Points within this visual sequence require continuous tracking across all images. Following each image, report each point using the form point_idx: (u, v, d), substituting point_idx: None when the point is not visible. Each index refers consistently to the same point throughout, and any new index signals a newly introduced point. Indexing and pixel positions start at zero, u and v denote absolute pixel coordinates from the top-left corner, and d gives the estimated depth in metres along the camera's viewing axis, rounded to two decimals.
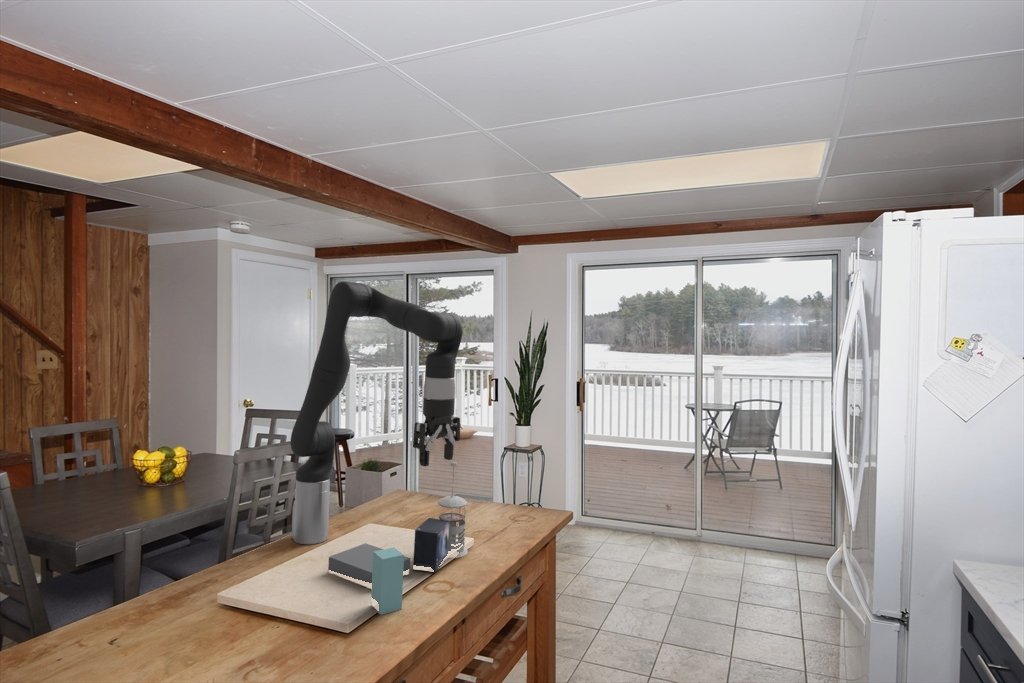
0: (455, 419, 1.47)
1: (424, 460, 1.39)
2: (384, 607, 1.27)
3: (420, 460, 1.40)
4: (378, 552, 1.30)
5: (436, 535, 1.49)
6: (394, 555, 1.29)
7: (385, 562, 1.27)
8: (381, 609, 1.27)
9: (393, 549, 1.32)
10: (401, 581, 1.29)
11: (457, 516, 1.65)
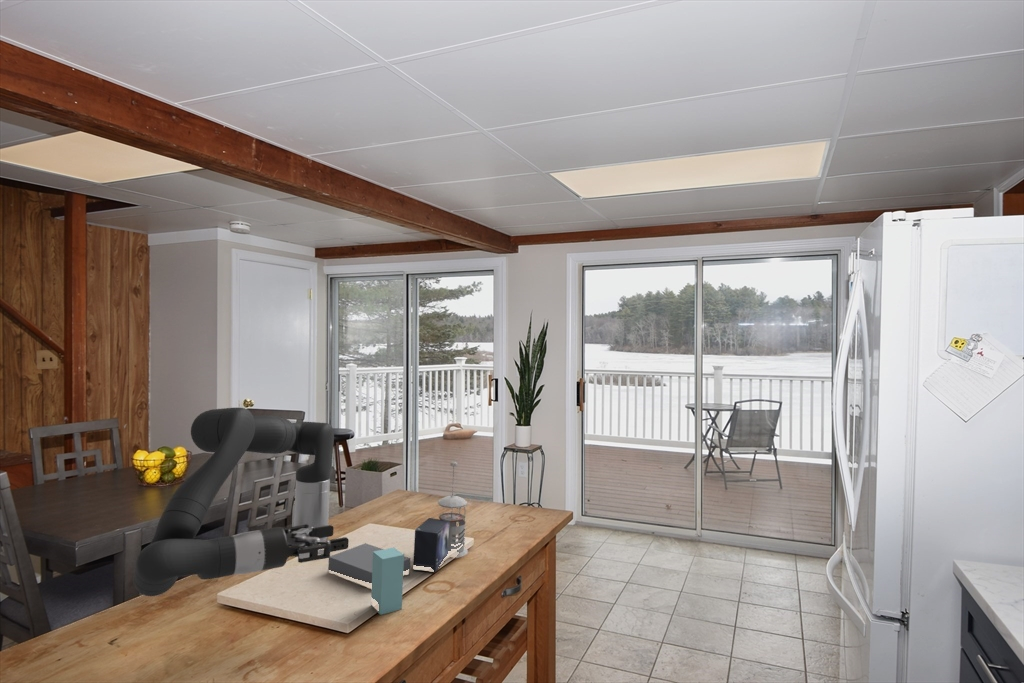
0: None
1: None
2: (384, 607, 1.27)
3: None
4: (378, 552, 1.30)
5: (436, 535, 1.49)
6: (394, 555, 1.29)
7: (385, 562, 1.27)
8: (381, 609, 1.27)
9: (393, 549, 1.32)
10: (401, 581, 1.29)
11: (457, 516, 1.65)
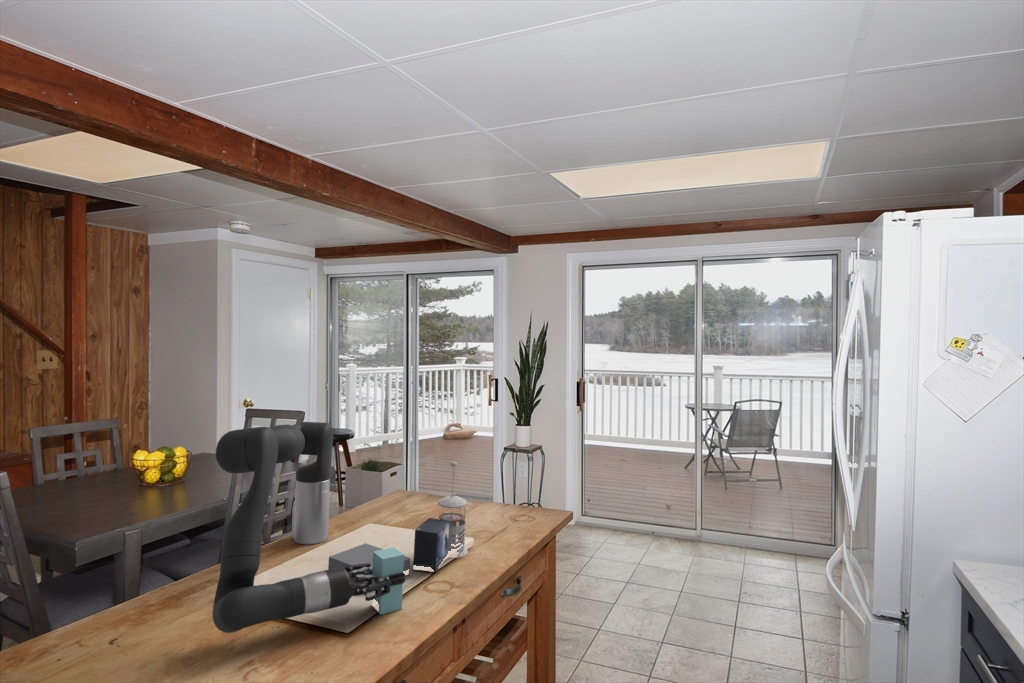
0: None
1: None
2: (384, 607, 1.27)
3: None
4: (378, 552, 1.30)
5: (436, 535, 1.49)
6: (394, 555, 1.29)
7: (385, 562, 1.27)
8: (381, 609, 1.27)
9: (393, 549, 1.32)
10: None
11: (457, 516, 1.65)
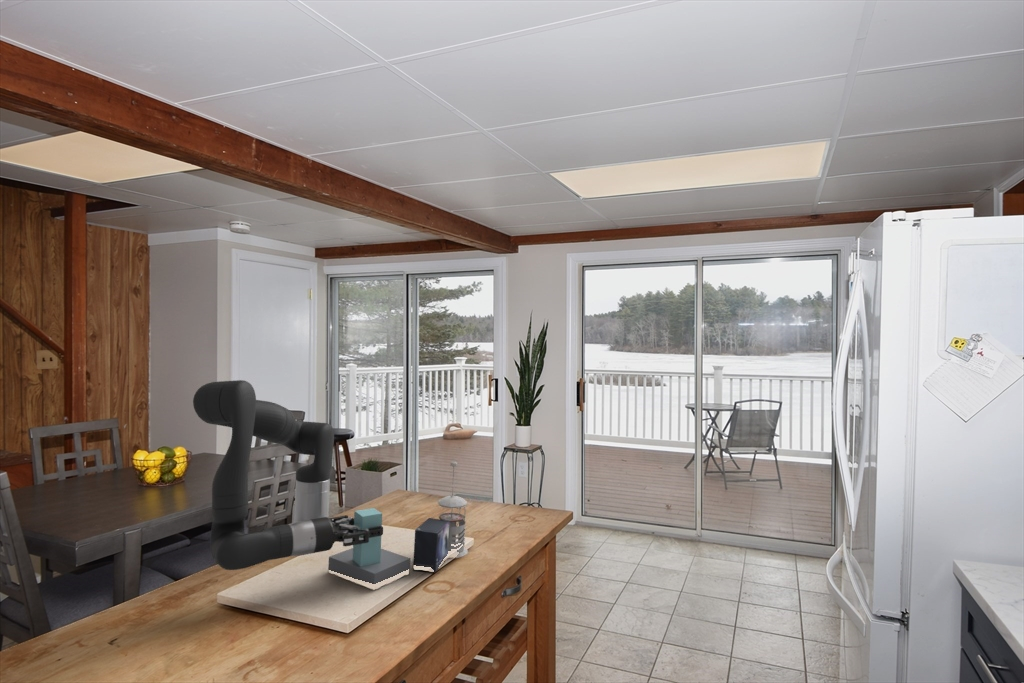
0: None
1: None
2: (364, 559, 1.42)
3: None
4: (359, 511, 1.45)
5: (436, 535, 1.49)
6: (373, 513, 1.44)
7: (365, 520, 1.42)
8: (361, 561, 1.42)
9: (373, 509, 1.47)
10: (380, 537, 1.44)
11: (457, 516, 1.65)
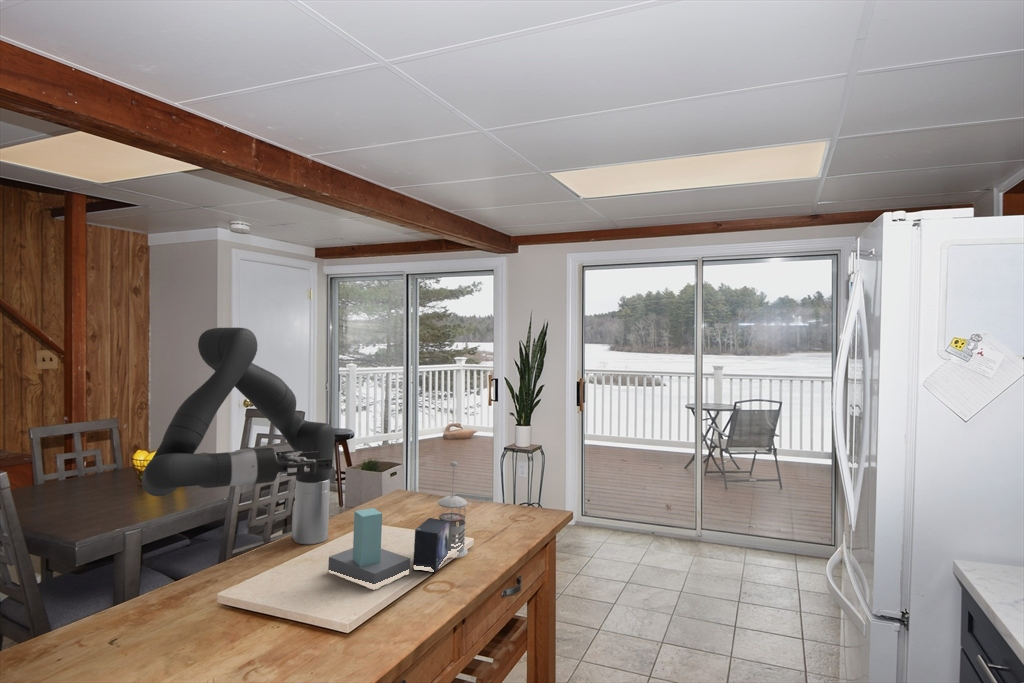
0: None
1: None
2: (364, 559, 1.42)
3: None
4: (359, 511, 1.45)
5: (436, 535, 1.49)
6: (373, 513, 1.44)
7: (365, 520, 1.42)
8: (361, 561, 1.42)
9: (373, 509, 1.47)
10: (380, 537, 1.44)
11: (457, 516, 1.65)
